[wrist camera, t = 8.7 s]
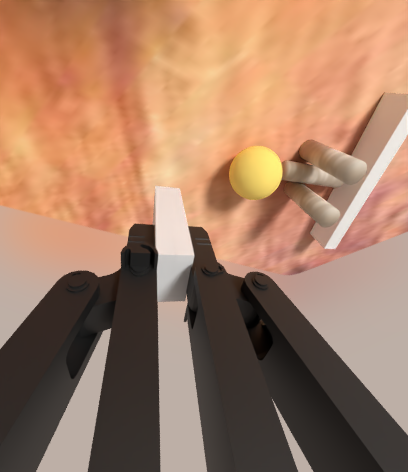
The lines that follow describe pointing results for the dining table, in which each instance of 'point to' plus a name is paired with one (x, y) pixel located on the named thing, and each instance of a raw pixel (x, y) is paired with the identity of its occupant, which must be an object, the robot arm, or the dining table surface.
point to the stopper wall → (377, 159)
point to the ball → (255, 173)
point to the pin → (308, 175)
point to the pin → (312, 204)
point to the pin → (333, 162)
